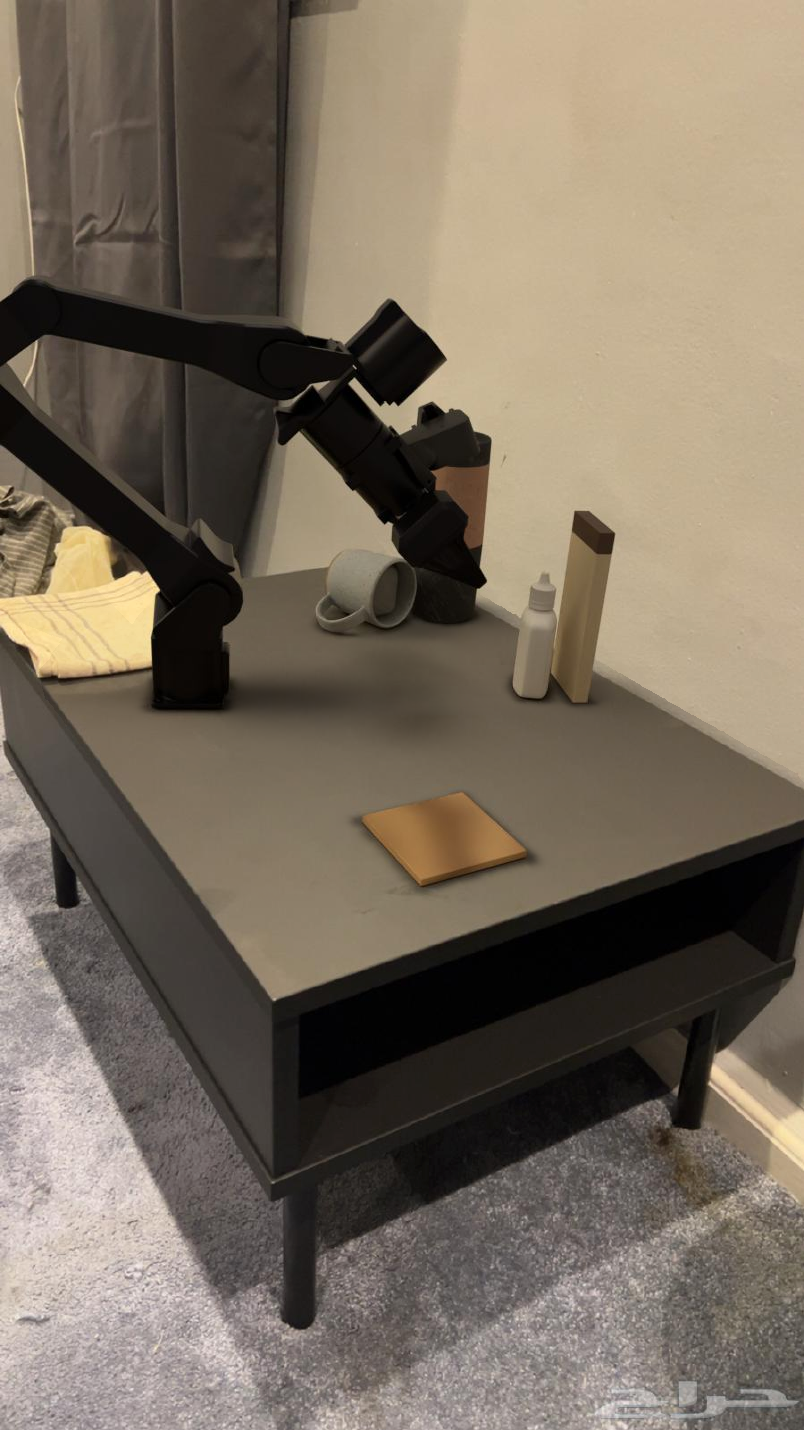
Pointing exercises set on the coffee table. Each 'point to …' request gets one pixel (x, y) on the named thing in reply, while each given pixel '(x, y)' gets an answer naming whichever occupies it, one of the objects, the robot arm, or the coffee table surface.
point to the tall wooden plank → (582, 604)
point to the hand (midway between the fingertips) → (470, 567)
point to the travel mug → (469, 490)
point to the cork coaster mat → (443, 838)
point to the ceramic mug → (367, 590)
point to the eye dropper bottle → (536, 641)
